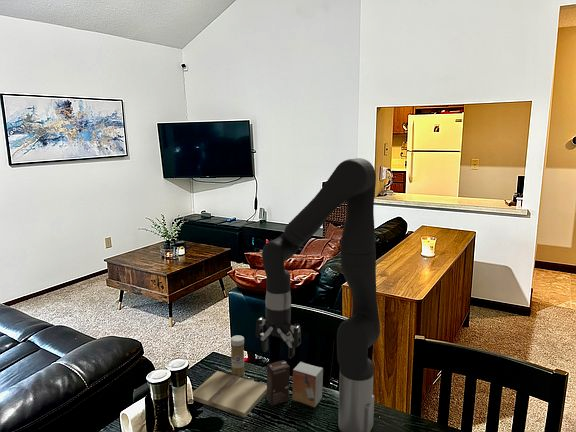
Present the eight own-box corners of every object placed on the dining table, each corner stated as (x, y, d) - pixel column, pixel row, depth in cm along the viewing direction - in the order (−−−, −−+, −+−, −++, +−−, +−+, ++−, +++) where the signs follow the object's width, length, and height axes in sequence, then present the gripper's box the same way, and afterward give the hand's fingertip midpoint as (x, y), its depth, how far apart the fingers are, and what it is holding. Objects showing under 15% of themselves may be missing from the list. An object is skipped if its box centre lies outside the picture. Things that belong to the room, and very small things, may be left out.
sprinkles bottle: (233, 378, 142) (232, 342, 139) (229, 371, 146) (228, 336, 143) (246, 375, 144) (245, 339, 141) (242, 369, 148) (241, 333, 145)
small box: (291, 400, 131) (292, 369, 129) (299, 390, 135) (300, 361, 133) (315, 408, 127) (315, 376, 125) (322, 398, 132) (323, 367, 130)
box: (272, 407, 127) (272, 370, 125) (266, 398, 131) (266, 363, 129) (290, 401, 130) (290, 366, 128) (283, 393, 134) (283, 359, 132)
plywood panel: (269, 389, 136) (269, 385, 135) (245, 417, 122) (244, 412, 122) (217, 374, 144) (217, 370, 144) (189, 399, 131) (189, 394, 131)
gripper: (305, 304, 125) (304, 353, 128) (263, 295, 131) (263, 343, 134) (294, 313, 118) (294, 365, 121) (251, 304, 124) (251, 354, 127)
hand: (277, 354), depth 128 cm, fingers open, 8 cm apart
